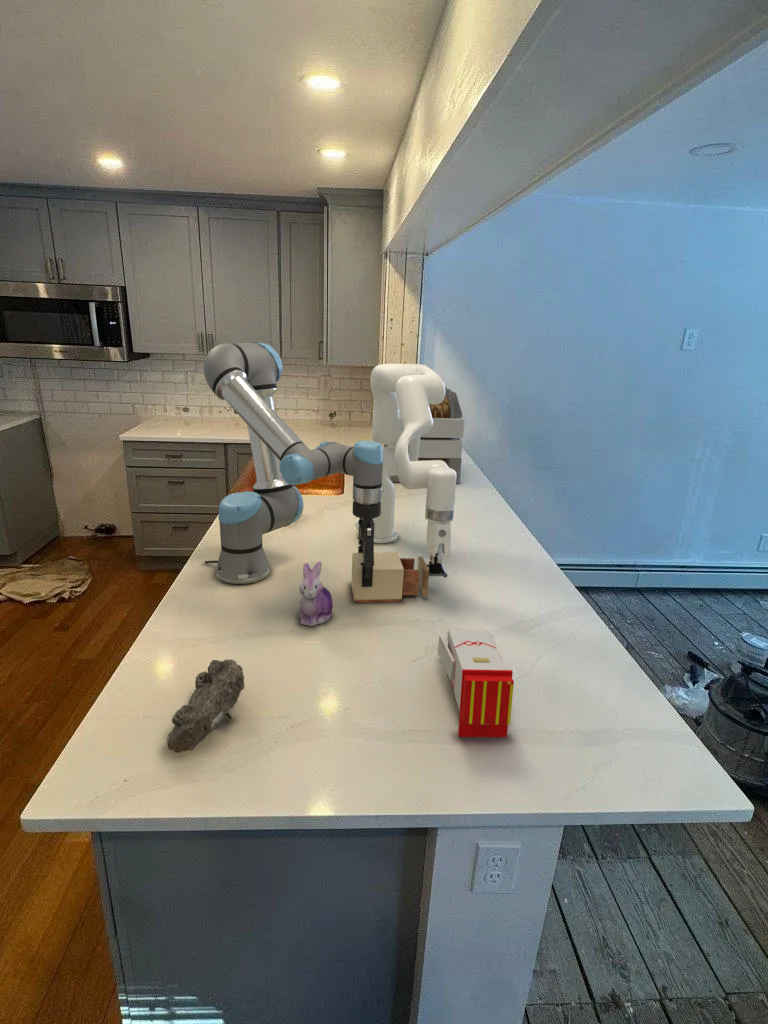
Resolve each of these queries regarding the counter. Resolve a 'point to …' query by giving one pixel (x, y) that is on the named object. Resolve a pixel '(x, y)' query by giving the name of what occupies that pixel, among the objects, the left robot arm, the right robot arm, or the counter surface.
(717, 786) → the counter surface
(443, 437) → the transformer
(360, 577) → the lidded box
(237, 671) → the fossil
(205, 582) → the counter surface
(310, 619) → the figurine
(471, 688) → the toy
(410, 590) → the drawer
